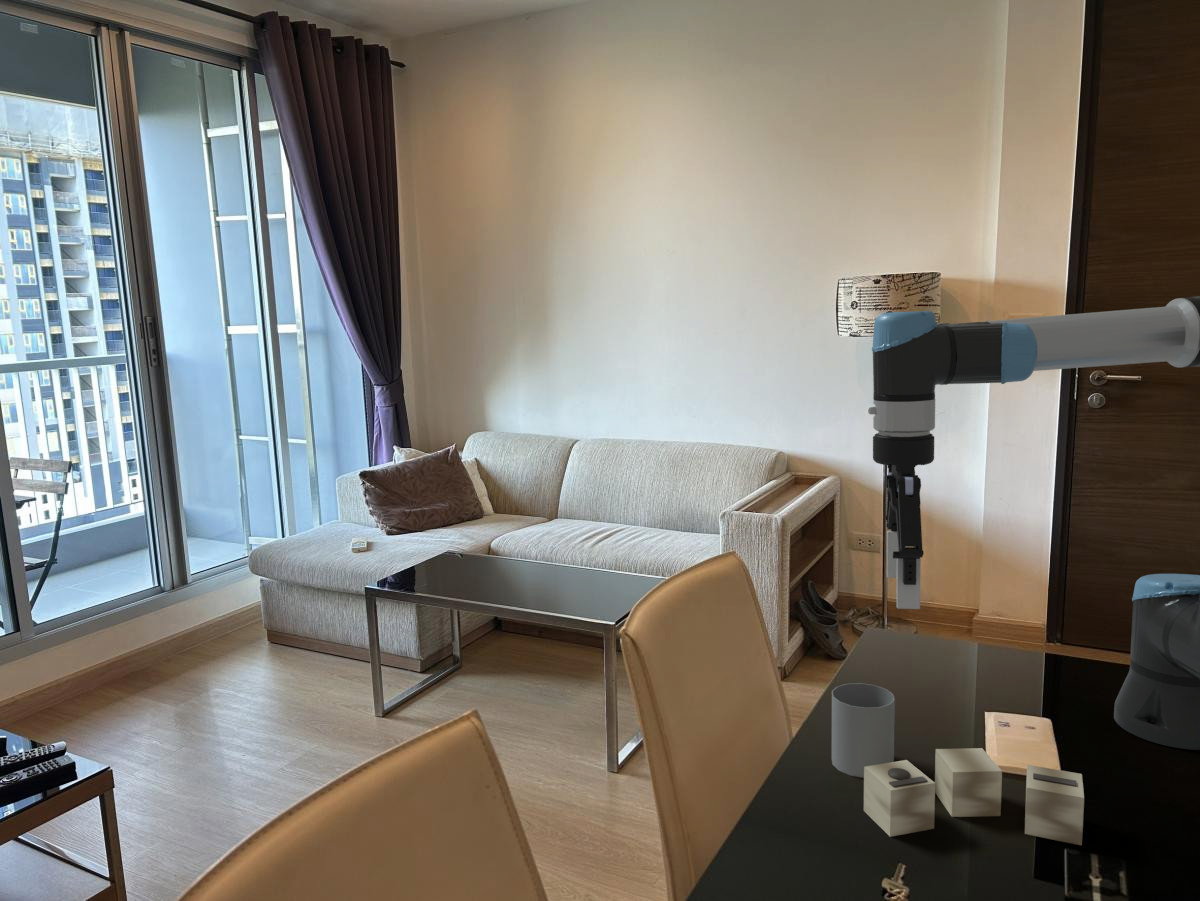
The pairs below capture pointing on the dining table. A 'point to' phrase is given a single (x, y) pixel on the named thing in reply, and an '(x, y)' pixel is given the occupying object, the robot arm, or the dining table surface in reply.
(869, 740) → the cup
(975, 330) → the robot arm
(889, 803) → the striped block
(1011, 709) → the dining table surface
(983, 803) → the plain block
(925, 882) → the dining table surface
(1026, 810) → the striped block
